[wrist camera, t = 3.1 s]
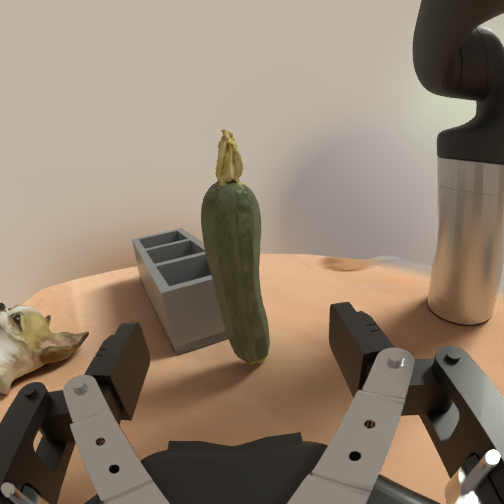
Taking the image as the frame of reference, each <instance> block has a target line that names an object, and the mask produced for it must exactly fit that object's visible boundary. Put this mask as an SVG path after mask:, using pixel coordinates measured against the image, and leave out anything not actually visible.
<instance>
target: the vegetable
mask: <svg viewBox="0 0 504 504" xmlns="http://www.w3.org/2000/svg"><path fill="white" fill-rule="evenodd" d="M221 132H223V136H222V138H221V141H220V142H219V145H218V148H219V150H218V160H217V166H216V177H217V179H218V181H217V183H215V184H213V185H212V186H211V187H210V188H209V190H208V191H207V193H206V195H205V196H204V199H203V204H202V210H201V226H202V234H203V241H204V249H205V254H206V259H207V263H208V266H209V269H210V273H211V276H212V280H213V284H214V288H215V292H216V297H217V301H218V304H219V307H220V311H221V317H222V321H223V324H224V327H225V330H226V334H227V336H228V339H229V341H230V344H231V346H232V348H233V350H234V352H235V354H236V355H237V356H238V357H239V358H240V359H242V360H244V361H245V362H247V363H249V364H251V365H253V364H254V363H255V362H258V361H262V362H263V361H265V358H266V356H267V355H268V350H269V345H270V340H269V328H268V321H267V316H266V312H265V309H264V306H263V301H262V297H261V290H260V280H259V260H260V237H261V216H260V210H259V204H258V201H257V199H256V197H255V195H254V193H253V192H252V191H251V190H250V189H249V188H248V187H247V186H246V185H245V184H243V183H242V182H240V181H239V177H240V176H241V174H242V170H243V164H242V160H241V157H240V154H239V152H238V149H237V145H236V143H235V139H234V137H233V134H232V133H231V132H229V131H227V130H222V131H221Z"/></svg>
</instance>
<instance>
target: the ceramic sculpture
mask: <svg viewBox="0 0 504 504" xmlns="http://www.w3.org/2000/svg"><path fill="white" fill-rule="evenodd" d="M50 321H51V316H50V315H49V316H46V317H45V318H44V317H43V316H42V315H41V313H39V312H38V311H37V310H35V309H34V308H31V307H28V306H25V305H16V306H14V307H13V308H9V309H7V308H6V307H5V305H4V304H3V303H0V393H2V394H7V393H8V392H9V391H10V386H11V383H12V382H13V380H15V379H16V378H18V377H20V376H22V375H24V374H27V373H30V372H32V371H34V370H36V369H38V368H40V367H42V366H43V365H45V364H46V363H52V362H57V361H61V360H64V359H67V358H68V357H70V356H71V355H72V354H73V353H74V352H75V351H76V350H77V349H78V348H79V347H80V346H81V344H82V343H83V342H84V340H85V339H86V338H87V336H88V334H89V332H84V333H80V334H73V333H68V332H61V333H57V334H53V333H51V332H50V329H49V324H50Z"/></svg>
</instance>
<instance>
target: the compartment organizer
mask: <svg viewBox="0 0 504 504" xmlns="http://www.w3.org/2000/svg"><path fill="white" fill-rule="evenodd" d="M132 241H133V246H134V251H135V255H136V260H137V265H138V270H139V274H140V279H141V281H142V284H143V286H144V288H145V291H146V293H147V295H148V297H149V299H150V302H151V304H152V306H153V308H154V310H155V312H156V314H157V317H158V319H159V321H160V323H161V325H162V327H163V329H164V331H165V333H166V335H167V337H168V339H169V341H170V343H171V345H172V347H173V349H174V351H175V353H176V354H177V355H180V354H183V353H187V352H190V351H193V350H196V349H199V348H202V347H205V346H208V345H211V344H214V343H217V342H220V341H223V340H225V339H228V336H227V334H226V330H225V327H224V324H223V321H222V317H221V311H220V307H219V304H218V301H217V297H216V292H215V288H214V284H213V280H212V276H211V273H210V269H209V266H208V263H207V259H206V254H205V249H204V243H203V242H202V241H200V240H199V239H197V238H195V237H194V236H192V235H191V234H189V233H187V232H186V231H184V230H183V229H177V230H172V231H167V232H163V233H158V234H154V235H150V236H145V237H141V238H137V239H133V240H132Z"/></svg>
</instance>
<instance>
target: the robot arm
mask: <svg viewBox="0 0 504 504" xmlns="http://www.w3.org/2000/svg"><path fill="white" fill-rule="evenodd" d="M502 13H504V0H422V1H421V5H420V9H419V13H418V18H417V22H416V26H415V32H414V38H413V62H414V68H415V72H416V74H417V77H418V79H419V81H420V82H421V84H422V85H423V87H425V88H426V89H427V90H428V91H430V92H431V93H433V94H436V95H440V96H445V97H450V98H459V99H467V100H475V101H476V102H477V108H476V115H475V117H474V118H473V119H472V120H470V121H469V122H467V123H465V124H464V125H461V126H458V127H454V128H451V129H447V130H444V131H442V132H441V133H439V134H438V137H437V156H438V158H437V159H438V200H437V222H436V236H435V248H434V257H433V266H432V273H431V280H430V287H429V293H428V299H427V302H428V306H429V308H430V309H431V310H432V311H433V312H434V313H435V314H436V315H438V316H439V317H441V318H443V319H445V320H448V321H451V322H454V323H458V324H466V325H470V324H479V323H482V322H485V321H487V320H488V319H489V318H490V317H491V316H492V313H493V309H494V305H495V301H496V297H497V293H498V289H499V285H500V280H501V276H502V271H503V265H504V47H503V45H502V43H501V41H500V39H499V38H498V36H497V35H496V34H495V33H494V32H493V31H492V30H490V29H488V28H486V27H482V26H479V25H480V24H482V23H484V22H486V21H488V20H490V19H492V18H493V17H496V16H498V15H500V14H502ZM329 342H330V347H331V350H332V352H333V354H334V356H335V359H336V361H337V363H338V365H339V367H340V369H341V372H342V374H343V376H344V378H345V380H346V382H347V385H348V387H349V389H350V391H351V393H352V396H353V398H354V399H353V401H352V403H351V405H350V407H349V409H348V411H347V413H346V415H345V416H344V418H343V420H342V422H341V424H340V426H339V428H338V429H337V431H336V433H335V435H334V437H333V438H332V440H331V442H330V443H329V445H325V444H321V443H317V442H310V441H302V437H301V433H300V432H299V433H293V434H286V435H278V436H270V437H265V438H262V439H259V440H255V441H252V442H249V443H245V444H242V445H238V446H226V445H219V444H213V443H207V442H202V441H169V444H168V450H165V451H161V452H157V453H155V454H152V455H150V456H148V457H146V458H144V459H142V460H140V458H139V457H138V455H137V454H136V452H135V450H134V449H133V447H132V446H131V444H130V442H129V441H128V439H127V437H126V436H125V434H124V432H123V430H122V429H121V427H120V425H119V424H120V421H121V420H132V417H133V414H134V411H135V408H136V405H137V402H138V398H139V395H140V392H141V389H142V386H143V383H144V380H145V377H146V374H147V371H148V368H149V365H150V356H149V351H148V348H147V345H146V342H145V339H144V336H143V332H142V329H141V326H140V324H139V323H122V324H121V325H120V326H119V328H118V330H117V331H116V333H115V335H111V336H110V337H108V338H107V339H106V340H105V341H104V342H103V343H102V345H101V347H100V348H99V350H98V352H97V353H96V357H94V359H93V360H92V362H91V364H90V366H89V367H88V369H87V371H86V373H85V374H84V375H80V376H76V377H74V378H72V379H70V380H69V381H68V382H67V383H66V384H65V386H64V389H63V390H61V391H54V392H48V391H47V389H46V387H45V385H44V384H42V383H40V382H33V383H30V384H27V385H26V386H24V387H23V388H22V389H21V390H20V391H19V393H18V394H17V396H16V397H15V399H14V401H13V402H12V404H11V406H10V407H9V409H8V411H7V413H6V414H5V416H4V418H3V419H2V421H1V423H0V504H57V501H58V497H59V494H60V490H61V487H62V483H63V480H64V477H65V473H66V470H67V467H68V464H69V461H70V458H71V455H72V452H73V449H74V446H75V443H76V444H77V447H78V450H79V452H80V455H81V457H82V460H83V462H84V465H85V467H86V469H87V472H88V474H89V476H90V478H91V481H92V483H93V485H94V487H95V489H96V491H97V493H98V494H97V495H95V496H94V497H93V498H91V499H90V500H89V501H87V502H86V503H84V504H440V503H438V502H436V501H434V500H432V499H429V498H427V497H425V496H423V495H421V494H419V493H416V492H414V491H412V490H410V489H408V488H406V487H404V486H402V485H400V484H398V483H396V482H394V481H392V480H390V479H388V478H386V477H384V476H383V475H381V474H379V473H380V470H381V468H382V466H383V463H384V461H385V458H386V456H387V453H388V451H389V448H390V445H391V442H392V440H393V437H394V434H395V431H396V428H397V425H398V422H399V419H400V416H404V415H419V416H420V418H421V420H422V422H423V424H424V425H425V427H426V429H427V431H428V433H429V435H430V437H431V439H432V441H433V443H434V445H435V447H436V449H437V451H438V453H439V456H440V458H441V460H442V462H443V464H444V466H445V468H446V470H447V472H448V475H449V477H450V480H449V482H448V483H447V485H446V488H445V497H446V504H504V397H503V396H502V394H501V393H500V392H499V391H498V389H497V388H496V387H495V386H494V384H493V383H492V382H491V381H490V379H489V378H488V377H487V376H486V375H485V373H484V372H483V371H482V370H481V369H480V367H479V366H478V365H477V364H476V363H475V361H474V360H473V359H472V358H471V357H470V356H469V354H468V353H467V352H466V351H464V350H463V349H461V348H459V347H455V346H445V347H442V348H440V349H439V350H438V351H437V352H436V355H435V358H434V359H414V357H413V355H412V354H411V353H410V352H408V351H407V350H404V349H401V348H395V347H394V346H393V345H392V343H391V342H390V341H389V339H388V338H387V337H386V335H385V334H384V333H383V332H382V330H380V328H379V326H378V325H376V322H375V321H374V320H373V318H372V317H371V316H369V315H368V314H366V313H364V312H362V311H359V312H356V311H355V309H354V308H353V307H352V305H351V304H350V303H349V302H343V303H336V304H331V306H330V322H329ZM38 430H39V431H40V432H41V434H42V435H43V436H42V438H41V441H40V443H39V445H38V448H37V450H36V453H35V451H34V447H33V442H34V439H35V436H36V434H37V432H38Z"/></svg>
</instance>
